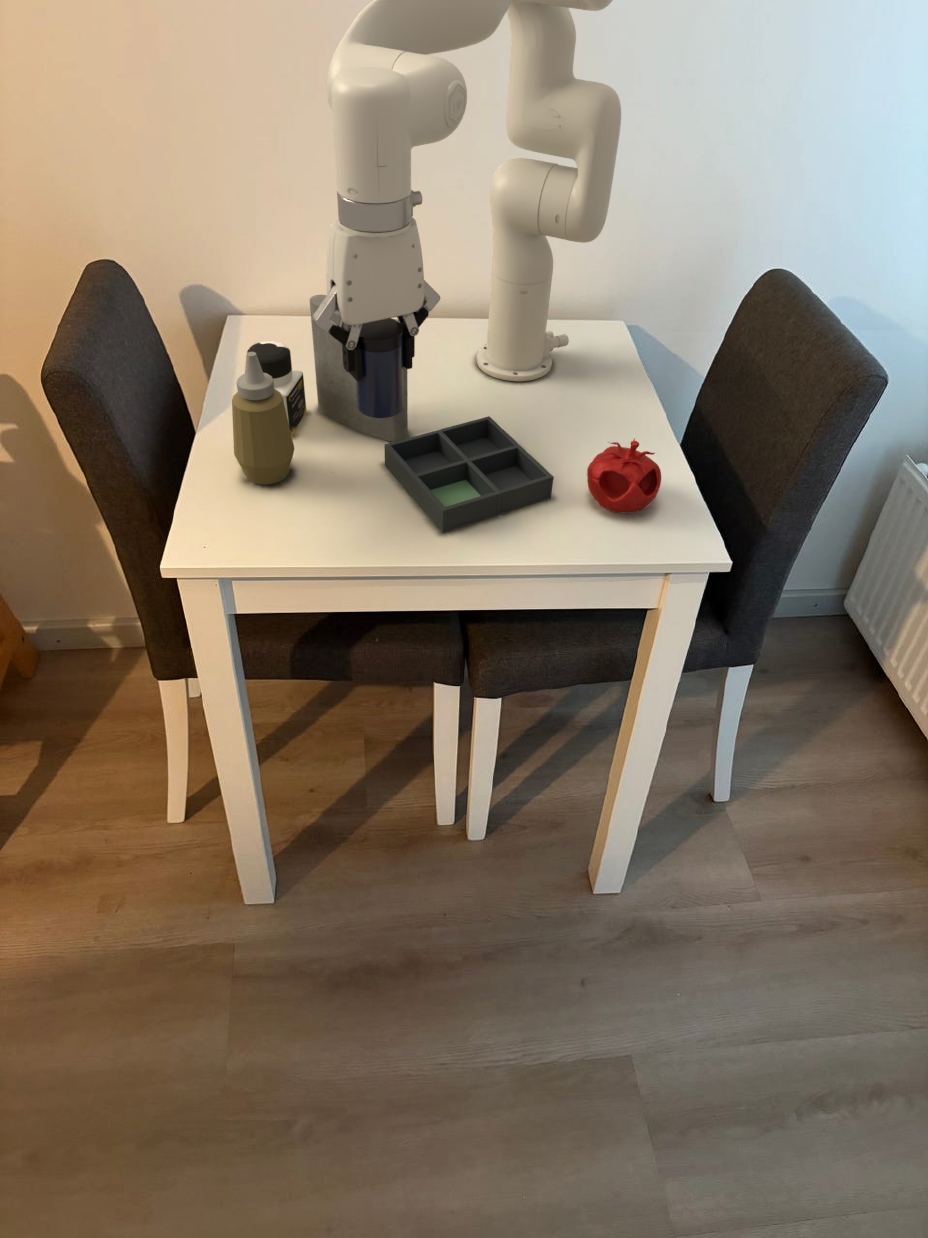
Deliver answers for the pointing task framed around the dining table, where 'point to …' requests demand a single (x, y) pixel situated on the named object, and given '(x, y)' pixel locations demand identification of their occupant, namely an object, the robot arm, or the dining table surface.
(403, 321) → the robot arm
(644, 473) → the red hollow tomato
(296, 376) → the medicine bottle
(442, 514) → the tray
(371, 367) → the thermos
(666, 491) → the dining table surface
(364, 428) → the hip flask
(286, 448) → the squeeze bottle
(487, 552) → the dining table surface
